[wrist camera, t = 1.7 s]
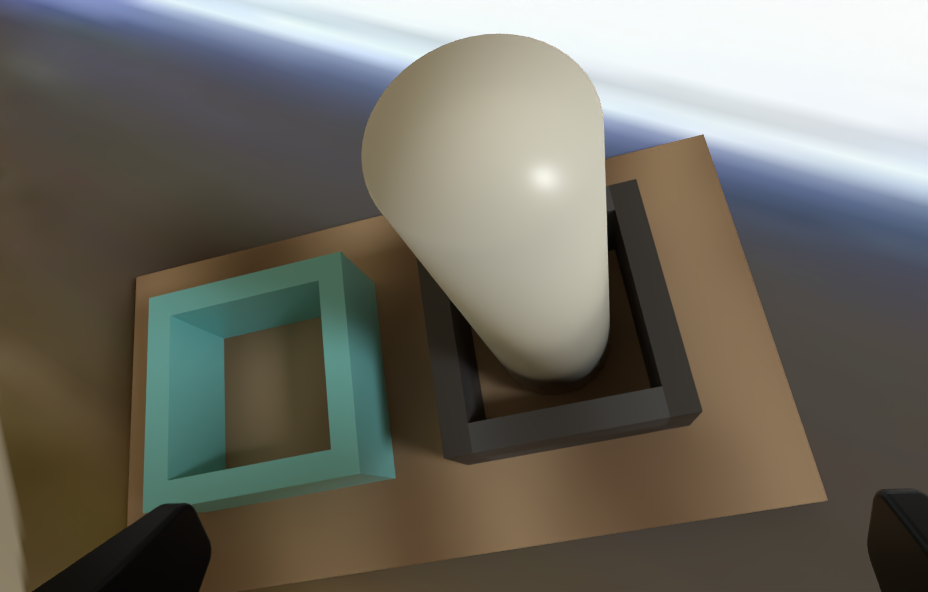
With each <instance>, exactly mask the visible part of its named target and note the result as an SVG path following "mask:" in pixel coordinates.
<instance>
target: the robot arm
mask: <svg viewBox="0 0 928 592" xmlns="http://www.w3.org/2000/svg"><path fill="white" fill-rule="evenodd" d="M867 546H868V553H869V557H870V561H871V564H872V567H873V569H874V572H875V575H876V578H877V580H878V583H879V586H880V589H881V592H928V495H926V494H925V493H923V492H921V491H919V490H916V489H882V490H879V491H878V492H876V494H875V496H874V499H873V505H872V511H871V518H870V525H869V531H868V539H867ZM211 553H212V547H211V542H210V539H209V537H208V535H207V533H206V531H205V529H204V527H203V525H202V522H201V520H200V518H199V516H198V514H197V512H196V510H195V508H194V507H193V506H192V505H190V504H188V503H166V504H162V505H159V506H158V507H156V508H155V509H153V510H152V511H150V512H149V513H147V514H146V515H144V516H143V517H141V518H140V519H138V520H137V521H135V522H134V523H133V524H131V525H130V526H128V527H127V528H125V529H124V530H122V531H121V532H119V533H118V534H116V535H115V536H113V537H112V538H110V539H109V540H107V541H106V542H104V543H103V544H102V545H100V546H99V547H97V548H96V549H94V550H93V551H91V552H90V553H88V554H87V555H85V556H84V557H82V558H81V559H79V560H78V561H76V562H75V563H73V564H72V565H71V566H69V567H68V568H66V569H65V570H63V571H62V572H60V573H59V574H57V575H56V576H54V577H53V578H51V579H50V580H48V581H47V582H45V583H44V584H43V585H41V586H40V587H38V588H37V589H35V590H34V591H32V592H199V591H200V588H201V585H202V582H203V579H204V576H205V574H206V571H207V568H208V565H209V562H210V559H211Z"/></svg>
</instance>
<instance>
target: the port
mask: <svg viewBox="0 0 928 592" xmlns="http://www.w3.org/2000/svg"><path fill="white" fill-rule="evenodd" d="M317 317H321V320H322V334H323V347H324V361H325V375H326V388H327V402H328V415H329V429H330V443H331V450H326V451H320V452H315V453H310V454H304V455H299V456H294V457H289V458H283V459H278V460H273V461H268V462H262V463H257V464H252V465H247V466H241V467H236V468H231V469H226V449H225V382H224V339H225V338H229V337H234V336H238V335H243V334H247V333H251V332H256V331H260V330H265V329H269V328H273V327H278V326H282V325H287V324H291V323H295V322H300V321H304V320H309V319H313V318H317ZM395 478H396V477H395V467H394V458H393V449H392V439H391V430H390V421H389V412H388V402H387V393H386V384H385V375H384V365H383V356H382V347H381V338H380V328H379V319H378V310H377V300H376V291H375V283H374V282H373V281H372V280H371V279H370V278H369V277H367V276H366V275H365V274H364V273H363V272H362V271H361V270H360V269H359V268H358V267H357V266H356V265H355V264H354V263H352V262H351V261H350V260H349V259H348V258H347V257H346V256H345V255H344V254H343V253H342V252H341V251H340V252H336V253H332V254H328V255H323V256H319V257H315V258H311V259H307V260H303V261H299V262H295V263H291V264H287V265H283V266H278V267H274V268H270V269H266V270H262V271H258V272H254V273H250V274H246V275H242V276H238V277H234V278H229V279H225V280H221V281H217V282H213V283H209V284H205V285H201V286H197V287H193V288H189V289H184V290H180V291H176V292H172V293H168V294H164V295H160V296H156V297H152V298H149V319H148V352H147V385H146V418H145V452H144V485H143V513H149V512H150V511H152V510H153V509H155V508H156V507H158V506H159V505H162V504H166V503H188V504H190V505H192V506H193V507H194V508H195V510H196V512H197V513H205V512H211V511H216V510H222V509H228V508H233V507H239V506H244V505H250V504H255V503H261V502H267V501H272V500H278V499H283V498H289V497H295V496H300V495H306V494H311V493H317V492H323V491H328V490H334V489H339V488H345V487H350V486H356V485H362V484H367V483H373V482H378V481H384V480H390V479H395Z"/></svg>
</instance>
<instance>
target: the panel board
mask: <svg viewBox="0 0 928 592" xmlns="http://www.w3.org/2000/svg"><path fill="white" fill-rule="evenodd" d="M605 179H606V212H607V245H608V277H609V310H610V350H609V355H608V358H607V360H606V363H605V365H604V367H603V369H602V370H601V371H600V373H599V374H598V375H597V376H596V377H595V379H594V380H593V381H591V382H590V383H589V384H588V385H586V386H584V387H583V388H581V389H579V390H577V391H575V392H572V393H568V394H564V395H544V394H539V393H536V392H533V391H530V390H529V389H527V388H525V387H523V386H522V385H520V384H519V383H518V382H517V381H515V380H514V379H513V378H512V376H511V375H510V374H509V373H508V371H507V370H506V369H505V368H504V366H503V365H502V364H501V363H500V361H499V360H498V359H497V358H496V356H495V355H494V354H493V353H492V351H491V350H490V349H489V348H488V346H487V345H486V344H485V343H484V341H483V340H482V339H481V338H480V336H479V335H478V334H477V332H476V331H475V330H474V329H473V327H472V326H471V325H470V324H469V322H468V321H467V320H466V319H465V317H464V316H463V315H462V314H461V312H460V311H459V310H458V309H457V307H456V306H455V305H454V304H453V302H452V301H451V300H450V299H449V297H448V296H447V295H446V293H445V292H444V291H443V290H442V288H441V287H440V286H439V285H438V283H437V282H436V281H435V280H434V278H433V277H432V276H431V275H430V273H429V272H428V271H427V270H426V268H425V267H424V266H423V265H422V263H421V262H420V261H419V260H418V258H417V257H416V256H415V254H414V253H413V252H412V251H411V249H410V248H409V247H408V246H407V244H406V243H405V242H404V241H403V239H402V238H401V237H400V236H399V234H398V233H397V232H396V231H395V229H394V228H393V227H392V226H391V224H390V223H389V222H388V221H387V219H386V218H385V217H384V216H383V215H382V216H378V217H374V218H370V219H366V220H362V221H358V222H354V223H350V224H346V225H342V226H338V227H334V228H330V229H326V230H322V231H318V232H314V233H310V234H306V235H302V236H298V237H294V238H290V239H286V240H282V241H278V242H274V243H270V244H266V245H262V246H258V247H254V248H250V249H246V250H242V251H239V252H235V253H231V254H227V255H223V256H219V257H215V258H211V259H207V260H203V261H199V262H195V263H191V264H187V265H183V266H179V267H175V268H171V269H167V270H163V271H159V272H155V273H151V274H147V275H143V276H139V277H137V278H136V304H135V330H134V357H133V383H132V409H131V435H130V461H129V487H128V514H127V527H128V526H130V525H131V524H133V523H134V522H135V521H137V520H138V519H140V518H141V517H143V516H144V515H146V514H147V513H143V485H144V452H145V418H146V385H147V352H148V319H149V298H152V297H156V296H160V295H164V294H168V293H172V292H176V291H180V290H184V289H189V288H193V287H197V286H201V285H205V284H209V283H213V282H217V281H221V280H225V279H229V278H234V277H238V276H242V275H246V274H250V273H254V272H258V271H262V270H266V269H270V268H274V267H278V266H283V265H287V264H291V263H295V262H299V261H303V260H307V259H311V258H315V257H319V256H323V255H328V254H332V253H336V252H340V251H341V252H342V253H343V254H344V255H345V256H346V257H347V258H348V259H349V260H350V261H351V262H352V263H354V264H355V265H356V266H357V267H358V268H359V269H360V270H361V271H362V272H363V273H364V274H365V275H366V276H367V277H369V278H370V279H371V280H372V281H373V282H374V283H375V291H376V300H377V310H378V319H379V328H380V338H381V347H382V356H383V365H384V375H385V384H386V393H387V402H388V412H389V421H390V430H391V439H392V449H393V458H394V467H395V477H396V478H395V479H390V480H384V481H378V482H373V483H367V484H362V485H356V486H350V487H345V488H339V489H334V490H328V491H323V492H317V493H311V494H306V495H300V496H295V497H289V498H283V499H278V500H272V501H267V502H261V503H255V504H250V505H244V506H239V507H233V508H228V509H222V510H216V511H211V512H205V513H197V514H198V516H199V518H200V520H201V522H202V525H203V527H204V529H205V531H206V533H207V535H208V537H209V539H210V542H211V547H212V553H211V559H210V562H209V565H208V568H207V571H206V574H205V576H204V579H203V582H202V585H201V588H200V591H199V592H239V591H246V590H252V589H259V588H265V587H271V586H278V585H284V584H291V583H297V582H304V581H310V580H317V579H323V578H330V577H336V576H343V575H349V574H356V573H362V572H368V571H375V570H381V569H388V568H394V567H401V566H407V565H414V564H420V563H427V562H433V561H440V560H446V559H452V558H459V557H465V556H472V555H478V554H485V553H491V552H498V551H504V550H511V549H517V548H524V547H530V546H537V545H543V544H549V543H556V542H562V541H569V540H575V539H582V538H588V537H595V536H601V535H608V534H614V533H621V532H627V531H634V530H640V529H646V528H653V527H659V526H666V525H672V524H679V523H685V522H692V521H698V520H705V519H711V518H718V517H724V516H730V515H737V514H743V513H750V512H756V511H763V510H769V509H776V508H782V507H789V506H795V505H802V504H808V503H815V502H821V501H827V500H828V499H827V496H826V493H825V490H824V487H823V484H822V481H821V479H820V476H819V473H818V470H817V467H816V464H815V461H814V458H813V455H812V452H811V449H810V446H809V443H808V440H807V437H806V434H805V431H804V429H803V426H802V423H801V420H800V417H799V414H798V411H797V408H796V405H795V402H794V399H793V396H792V393H791V390H790V387H789V384H788V382H787V379H786V376H785V373H784V370H783V367H782V364H781V361H780V358H779V355H778V352H777V349H776V346H775V343H774V340H773V337H772V335H771V332H770V329H769V326H768V323H767V320H766V317H765V314H764V311H763V308H762V305H761V302H760V299H759V296H758V293H757V290H756V288H755V285H754V282H753V279H752V276H751V273H750V270H749V267H748V264H747V261H746V258H745V255H744V252H743V249H742V246H741V243H740V241H739V238H738V235H737V232H736V229H735V226H734V223H733V220H732V217H731V214H730V211H729V208H728V205H727V202H726V199H725V196H724V194H723V191H722V188H721V185H720V182H719V179H718V176H717V173H716V170H715V167H714V164H713V161H712V158H711V155H710V152H709V149H708V147H707V144H706V141H705V138H704V135H699V136H695V137H691V138H687V139H683V140H679V141H675V142H671V143H668V144H664V145H660V146H656V147H652V148H648V149H644V150H640V151H636V152H632V153H628V154H624V155H620V156H616V157H612V158H608V159H605ZM224 382H225V449H226V469H231V468H236V467H241V466H247V465H252V464H257V463H262V462H268V461H273V460H278V459H283V458H289V457H294V456H299V455H304V454H310V453H315V452H320V451H326V450H331V443H330V429H329V415H328V402H327V388H326V375H325V361H324V347H323V334H322V320H321V317H317V318H313V319H309V320H304V321H300V322H295V323H291V324H287V325H282V326H278V327H273V328H269V329H265V330H260V331H256V332H251V333H247V334H243V335H238V336H234V337H229V338H225V339H224Z"/></svg>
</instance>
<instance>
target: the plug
mask: <svg viewBox="0 0 928 592" xmlns="http://www.w3.org/2000/svg"><path fill="white" fill-rule="evenodd" d="M361 157H362V170H363V175H364V179H365V184H366V186H367V189H368V191H369V194H370V196H371V198H372V200H373V201H374V203H375V205H376V206H377V208H378V209H379V210H380V212H381V213H382V214H383V216H384V217H385V218H386V219H387V221H388V222H389V223H390V224H391V226H392V227H393V228H394V229H395V231H396V232H397V233H398V234H399V236H400V237H401V238H402V239H403V241H404V242H405V243H406V244H407V246H408V247H409V248H410V249H411V251H412V252H413V253H414V254H415V256H416V257H417V258H418V260H419V261H420V262H421V263H422V265H423V266H424V267H425V268H426V270H427V271H428V272H429V273H430V275H431V276H432V277H433V278H434V280H435V281H436V282H437V283H438V285H439V286H440V287H441V288H442V290H443V291H444V292H445V293H446V295H447V296H448V297H449V299H450V300H451V301H452V302H453V304H454V305H455V306H456V307H457V309H458V310H459V311H460V312H461V314H462V315H463V316H464V317H465V319H466V320H467V321H468V322H469V324H470V325H471V326H472V327H473V329H474V330H475V331H476V332H477V334H478V335H479V336H480V338H481V339H482V340H483V341H484V343H485V344H486V345H487V346H488V348H489V349H490V350H491V351H492V353H493V354H494V355H495V356H496V358H497V359H498V360H499V361H500V363H501V364H502V365H503V366H504V368H505V369H506V370H507V371H508V373H509V374H510V375H511V376H512V378H513V379H514V380H515V381H517V382H518V383H519V384H520V385H522V386H523V387H525V388H527V389H529V390H530V391H533V392H536V393H539V394H544V395H564V394H568V393H572V392H575V391H577V390H579V389H581V388H583V387H584V386H586V385H588V384H589V383H590V382H591V381H593V380H594V379H595V377H596V376H597V375H598V374H599V373H600V371H601V370H602V369H603V367H604V365H605V363H606V360H607V358H608V355H609V350H610V310H609V277H608V245H607V212H606V179H605V147H604V122H603V112H602V108H601V103H600V99H599V97H598V94H597V92H596V90H595V87H594V85H593V84H592V82H591V80H590V79H589V77H588V76H587V74H586V73H585V72H584V71H583V69H582V68H581V67H580V66H579V65H578V64H577V63H576V62H575V61H574V60H573V59H571V58H570V57H569V56H568V55H567V54H565V53H563V52H562V51H560V50H559V49H557V48H556V47H553V46H551V45H549V44H547V43H545V42H542V41H539V40H536V39H533V38H530V37H525V36H519V35H511V34H485V35H479V36H472V37H468V38H464V39H460V40H457V41H454V42H451V43H448V44H446V45H443V46H441V47H439V48H437V49H435V50H433V51H431V52H429V53H427V54H426V55H424V56H422V57H421V58H419V59H418V60H416V61H415V62H413V63H412V64H411V65H410V66H408V67H407V68H406V69H405V70H403V71H402V72H401V73H400V74H399V75H398V76H397V77H396V78H395V79H394V80H393V81H392V83H391V84H390V85H389V86H388V87H387V89H386V90H385V91H384V92H383V94H382V95H381V97H380V99H379V100H378V102H377V103H376V105H375V107H374V109H373V111H372V113H371V115H370V117H369V120H368V123H367V126H366V129H365V133H364V138H363V143H362V156H361Z"/></svg>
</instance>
